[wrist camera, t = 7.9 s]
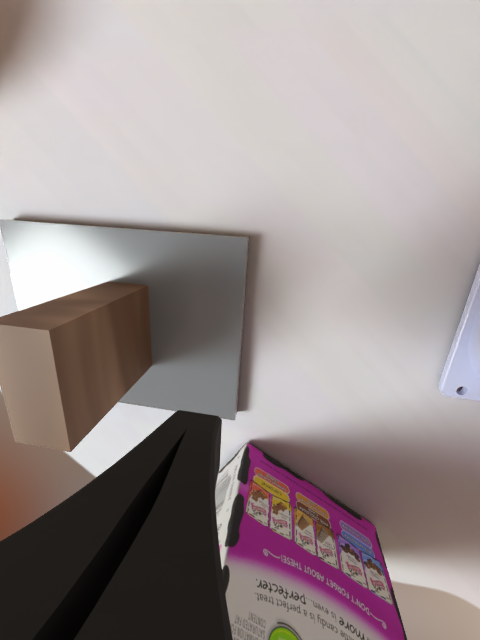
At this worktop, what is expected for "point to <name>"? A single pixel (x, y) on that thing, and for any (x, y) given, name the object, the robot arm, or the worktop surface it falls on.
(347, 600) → the candy bar box
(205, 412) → the grey flat rectangular plate
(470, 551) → the worktop surface
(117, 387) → the walnut slab
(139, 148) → the worktop surface
